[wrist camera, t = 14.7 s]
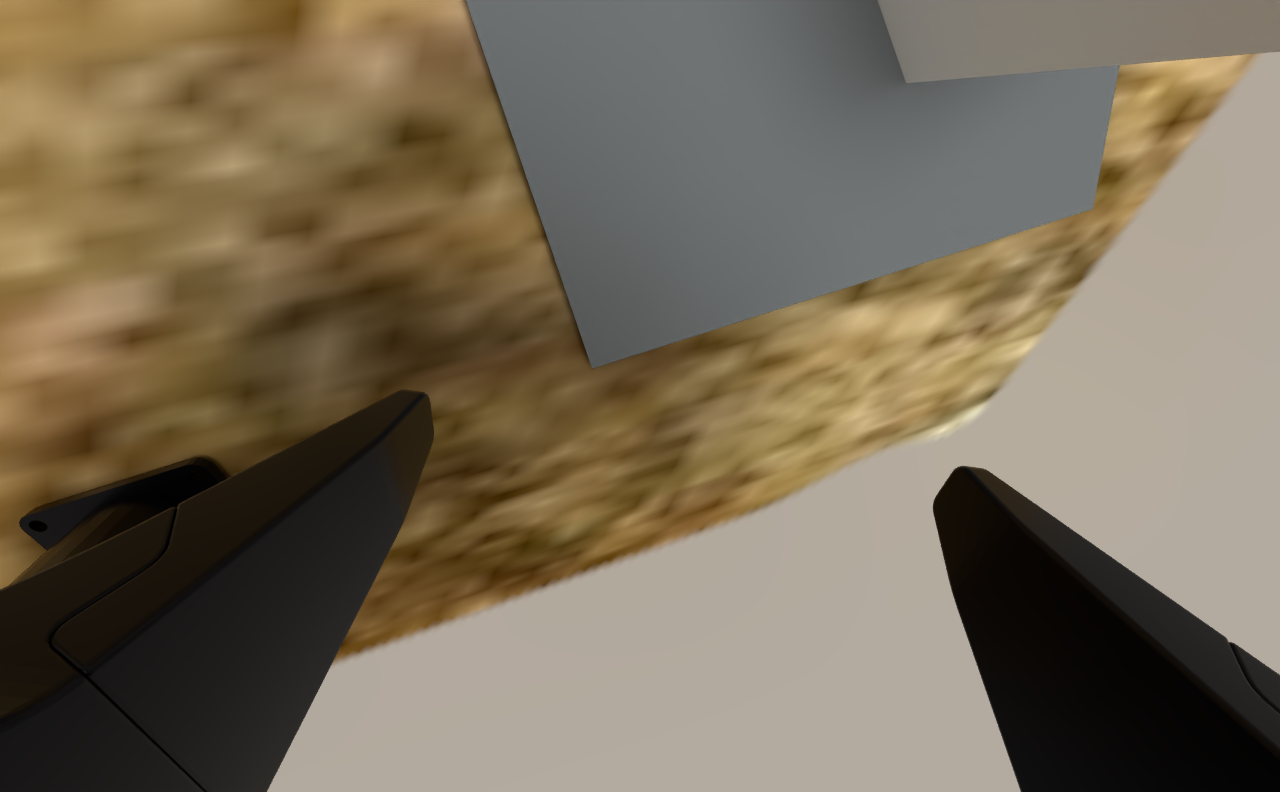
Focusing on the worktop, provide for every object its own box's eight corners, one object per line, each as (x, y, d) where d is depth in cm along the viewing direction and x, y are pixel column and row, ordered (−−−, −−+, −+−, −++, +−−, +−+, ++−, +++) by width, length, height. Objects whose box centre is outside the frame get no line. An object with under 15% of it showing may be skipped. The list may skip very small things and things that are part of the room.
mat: (590, 362, 20) (592, 368, 19) (419, -139, 12) (414, -148, 12) (1080, 206, 20) (1092, 209, 20) (1177, -350, 13) (1200, -365, 13)
